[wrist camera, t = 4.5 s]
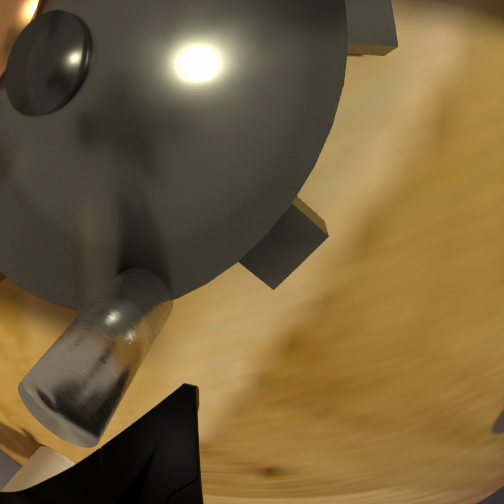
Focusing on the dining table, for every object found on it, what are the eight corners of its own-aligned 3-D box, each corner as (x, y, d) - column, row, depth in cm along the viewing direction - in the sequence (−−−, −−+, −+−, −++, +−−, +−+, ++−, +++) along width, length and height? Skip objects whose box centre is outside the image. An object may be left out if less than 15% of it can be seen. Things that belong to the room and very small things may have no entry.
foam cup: (36, 429, 23) (-19, 519, 11) (109, 480, 25) (69, 573, 13) (24, 445, 27) (-20, 516, 15) (83, 487, 28) (49, 561, 16)
